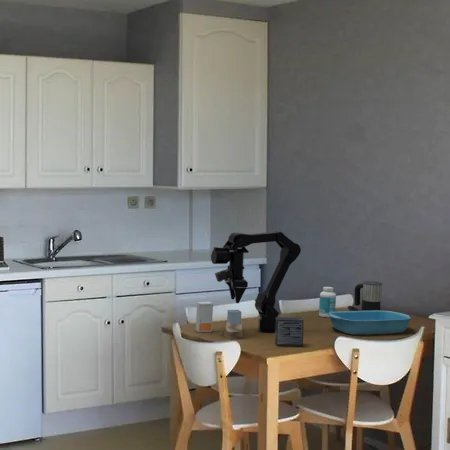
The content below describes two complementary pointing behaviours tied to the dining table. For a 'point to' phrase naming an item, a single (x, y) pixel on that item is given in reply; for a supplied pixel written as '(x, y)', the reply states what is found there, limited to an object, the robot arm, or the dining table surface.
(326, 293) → the pill bottle
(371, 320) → the casserole dish
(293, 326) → the small box
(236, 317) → the blue cube
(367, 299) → the milk frother
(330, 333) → the dining table surface
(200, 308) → the skincare box
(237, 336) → the tower base
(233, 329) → the tower mid
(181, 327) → the dining table surface
